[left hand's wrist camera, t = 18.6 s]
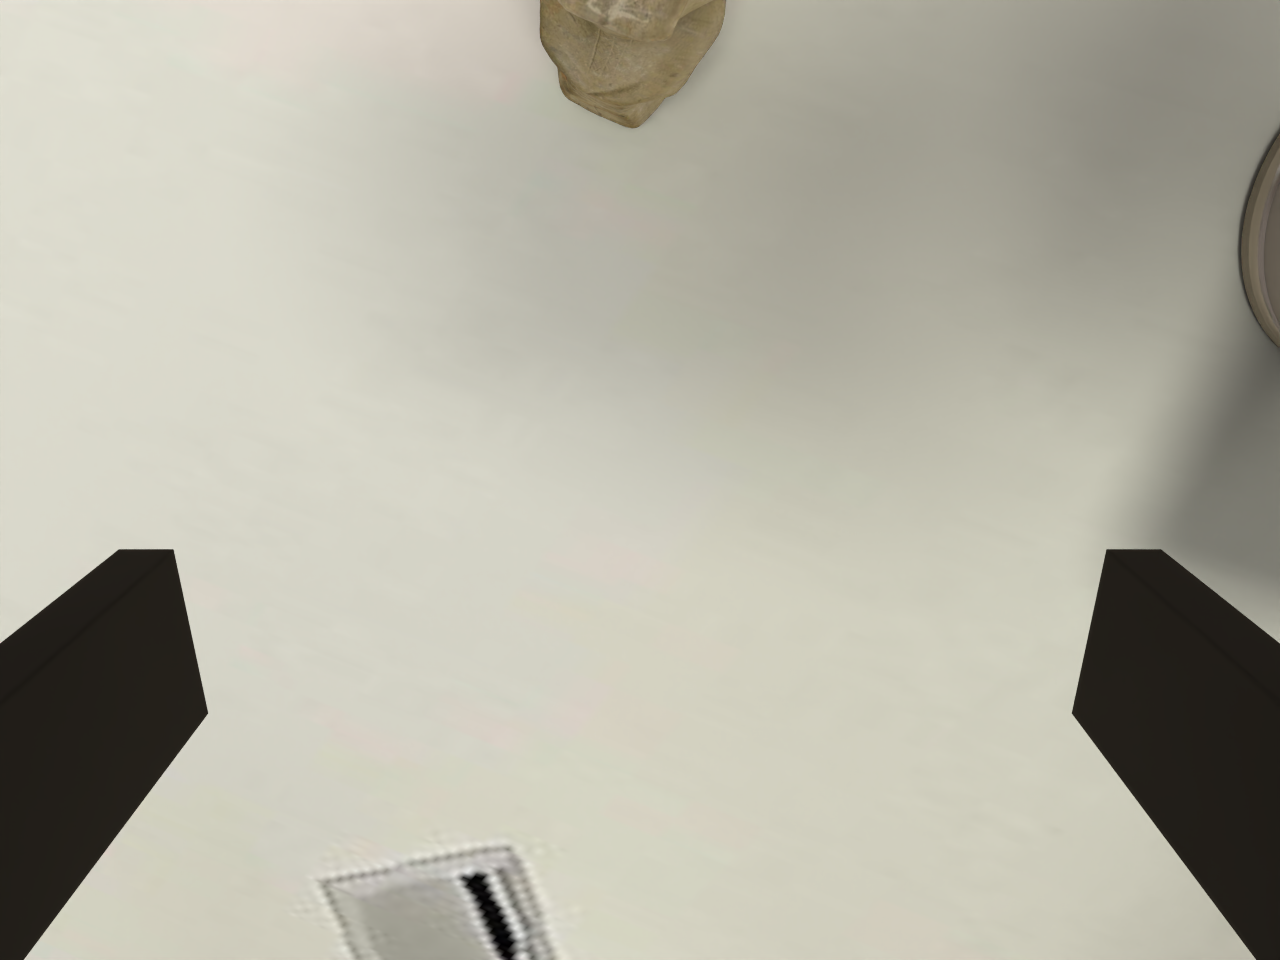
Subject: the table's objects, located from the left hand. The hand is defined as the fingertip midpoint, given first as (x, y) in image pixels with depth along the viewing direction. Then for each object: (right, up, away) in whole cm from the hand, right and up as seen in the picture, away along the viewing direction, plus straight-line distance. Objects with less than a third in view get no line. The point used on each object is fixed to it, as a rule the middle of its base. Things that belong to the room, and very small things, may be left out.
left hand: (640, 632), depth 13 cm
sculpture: (0, +21, +23) cm, 31 cm away
